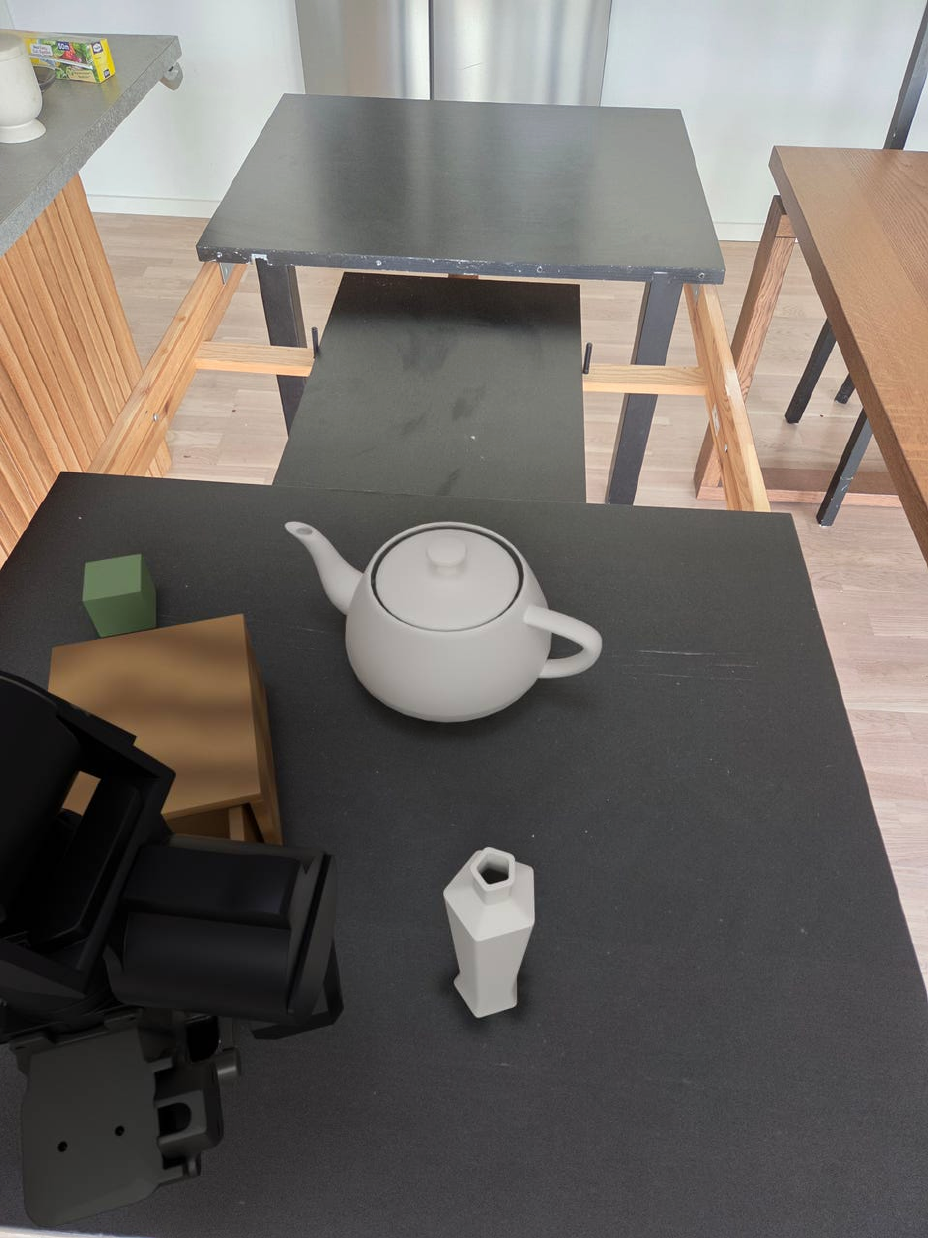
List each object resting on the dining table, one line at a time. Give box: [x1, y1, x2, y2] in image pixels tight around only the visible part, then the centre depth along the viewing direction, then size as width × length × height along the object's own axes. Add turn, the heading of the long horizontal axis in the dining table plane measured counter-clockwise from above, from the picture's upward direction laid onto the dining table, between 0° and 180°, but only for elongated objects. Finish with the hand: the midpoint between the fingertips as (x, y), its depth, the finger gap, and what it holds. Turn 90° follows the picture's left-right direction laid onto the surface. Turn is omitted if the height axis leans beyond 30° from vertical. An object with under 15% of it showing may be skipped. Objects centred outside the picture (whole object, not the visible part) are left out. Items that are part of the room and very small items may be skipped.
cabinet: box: [47, 613, 284, 845], centre depth 56 cm, size 15×13×9 cm
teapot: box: [284, 521, 603, 723], centre depth 62 cm, size 25×16×12 cm, turn 66°
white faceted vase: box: [442, 846, 536, 1019], centre depth 44 cm, size 5×4×15 cm
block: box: [82, 553, 157, 639], centre depth 68 cm, size 4×4×4 cm
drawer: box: [165, 802, 260, 1084], centre depth 48 cm, size 18×11×7 cm, turn 14°
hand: (174, 1052), depth 44 cm, fingers closed, pressing on drawer
